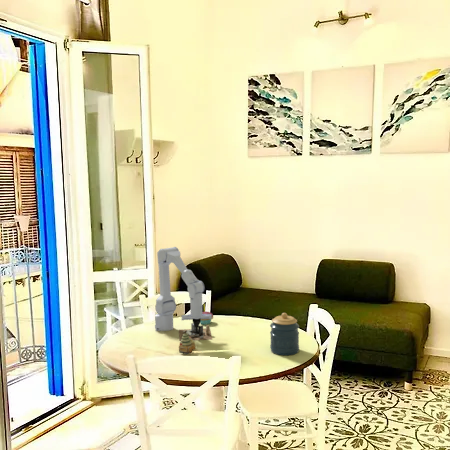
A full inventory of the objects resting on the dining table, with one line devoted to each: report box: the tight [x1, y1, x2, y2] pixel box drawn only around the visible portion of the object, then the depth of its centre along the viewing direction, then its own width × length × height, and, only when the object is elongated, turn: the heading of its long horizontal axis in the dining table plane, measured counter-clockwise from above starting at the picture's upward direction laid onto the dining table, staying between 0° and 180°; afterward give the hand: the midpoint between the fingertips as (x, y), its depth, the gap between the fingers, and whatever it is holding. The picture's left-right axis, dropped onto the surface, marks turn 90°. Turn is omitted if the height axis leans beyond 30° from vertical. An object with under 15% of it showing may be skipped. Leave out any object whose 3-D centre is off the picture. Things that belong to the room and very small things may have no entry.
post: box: [190, 322, 195, 333], centre depth 242 cm, size 3×3×6 cm
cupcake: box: [200, 303, 214, 325], centre depth 261 cm, size 9×8×12 cm
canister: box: [269, 312, 300, 356], centre depth 219 cm, size 13×13×18 cm
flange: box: [183, 325, 205, 339], centre depth 240 cm, size 12×8×6 cm, turn 32°
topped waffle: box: [178, 331, 196, 355], centre depth 221 cm, size 8×6×10 cm
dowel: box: [205, 324, 210, 335], centre depth 241 cm, size 2×2×4 cm
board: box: [178, 327, 213, 342], centre depth 242 cm, size 16×18×1 cm
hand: (196, 333), depth 235 cm, fingers closed
